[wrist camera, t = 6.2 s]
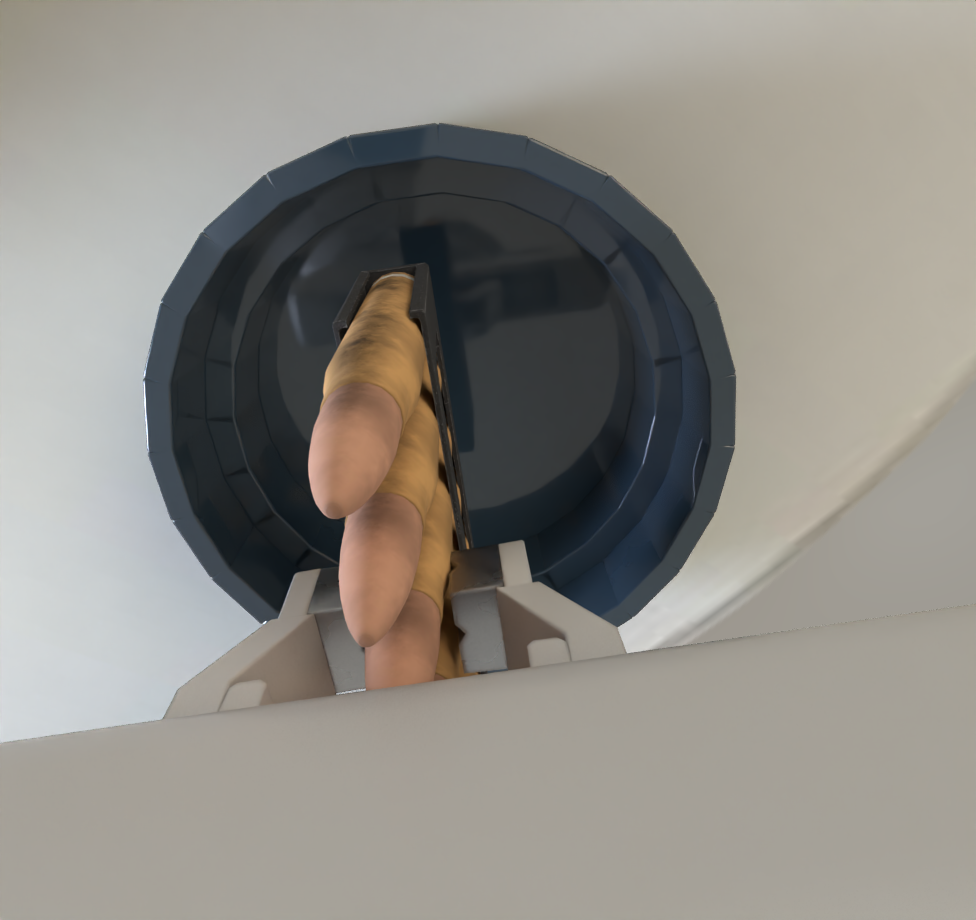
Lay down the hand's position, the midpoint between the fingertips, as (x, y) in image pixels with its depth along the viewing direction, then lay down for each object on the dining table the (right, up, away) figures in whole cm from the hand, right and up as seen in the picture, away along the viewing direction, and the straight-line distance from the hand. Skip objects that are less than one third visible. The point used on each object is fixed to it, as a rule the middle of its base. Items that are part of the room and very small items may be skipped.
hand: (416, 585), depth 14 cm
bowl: (0, +5, +12) cm, 14 cm away
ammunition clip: (0, +3, +7) cm, 7 cm away
